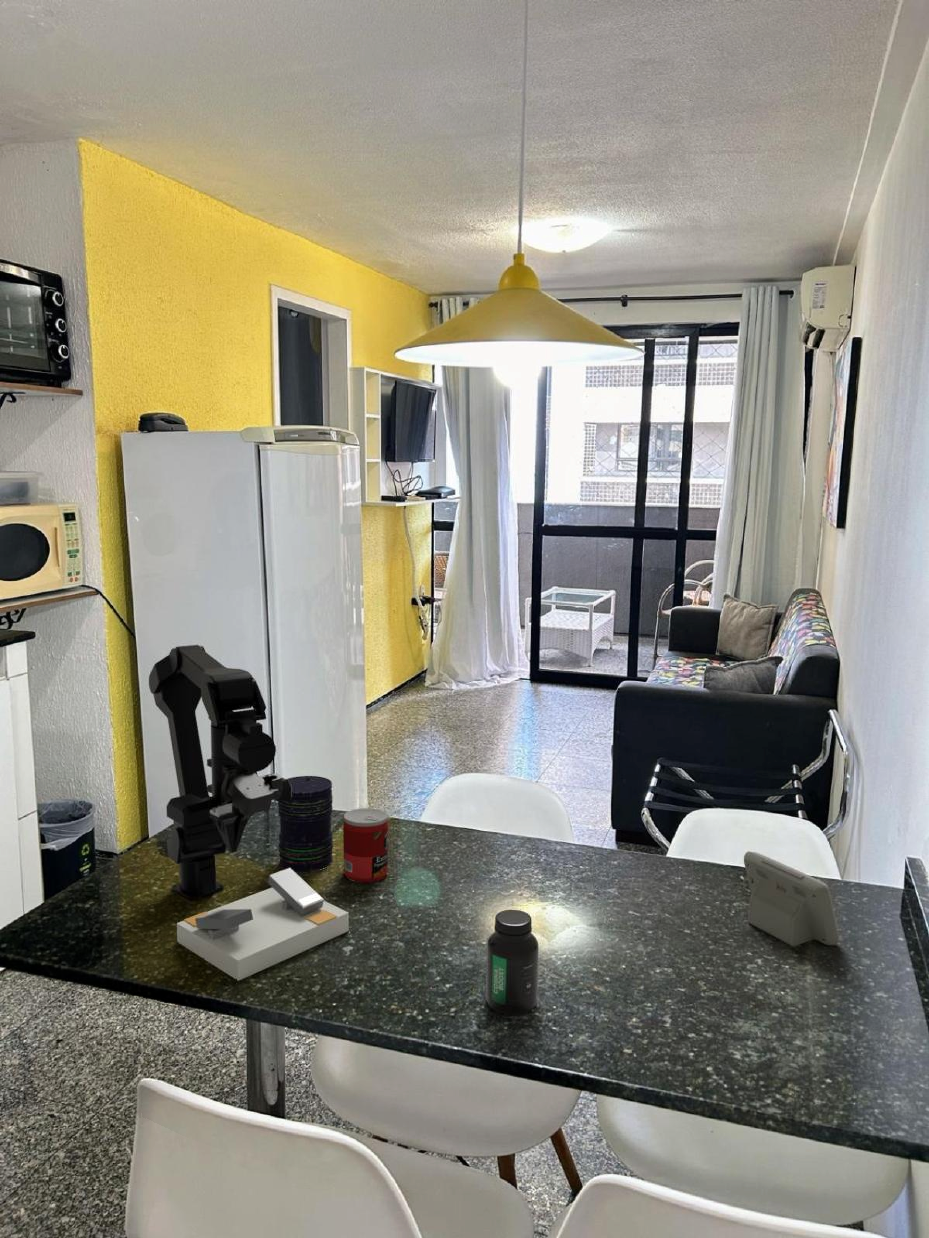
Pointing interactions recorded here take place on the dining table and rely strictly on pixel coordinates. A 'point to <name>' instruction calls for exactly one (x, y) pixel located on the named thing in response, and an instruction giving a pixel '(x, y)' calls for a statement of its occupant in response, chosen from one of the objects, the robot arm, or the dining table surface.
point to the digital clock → (789, 902)
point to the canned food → (365, 844)
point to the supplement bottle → (512, 964)
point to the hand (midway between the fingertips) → (232, 851)
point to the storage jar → (306, 825)
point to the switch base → (262, 934)
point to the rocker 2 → (295, 891)
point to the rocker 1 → (224, 919)
